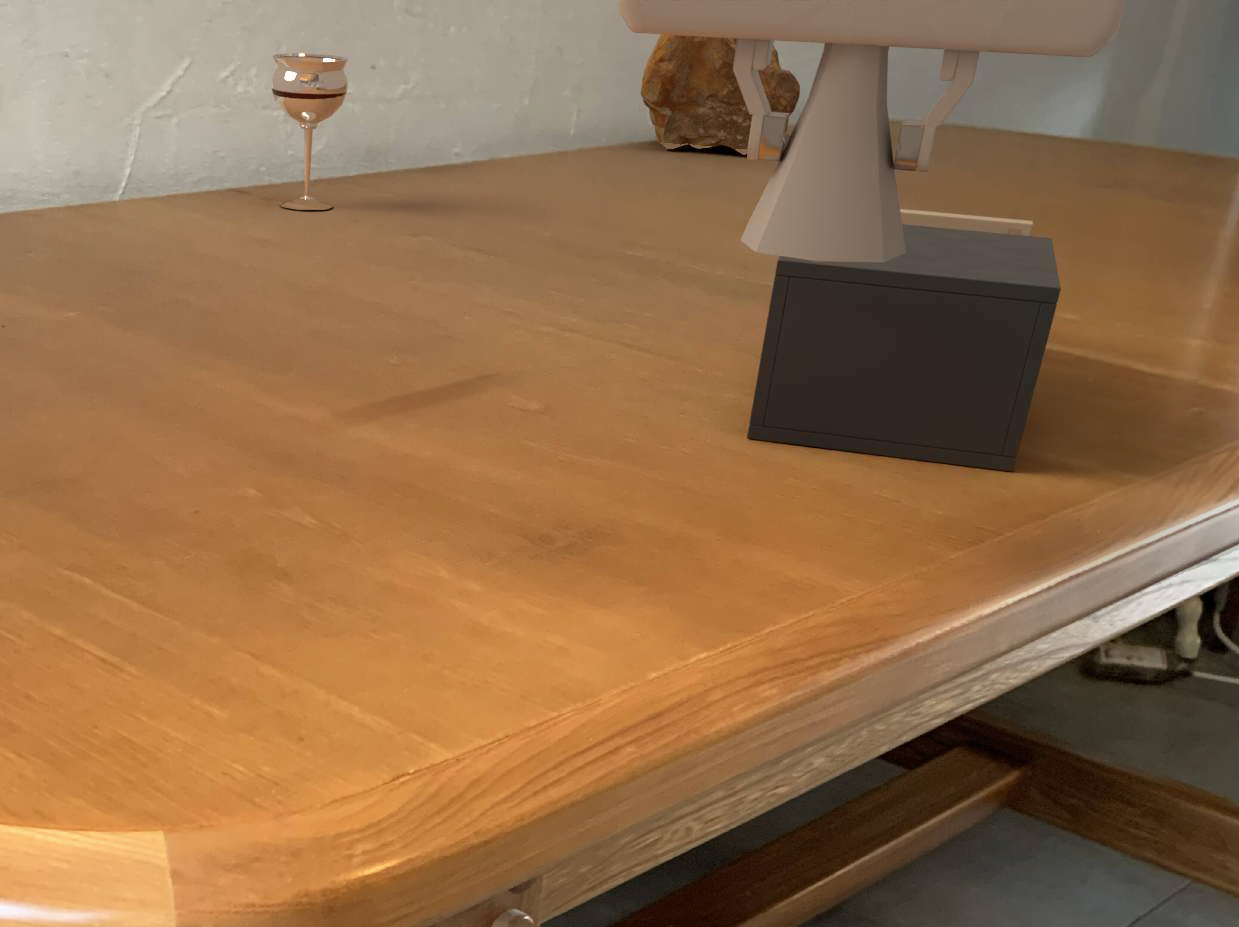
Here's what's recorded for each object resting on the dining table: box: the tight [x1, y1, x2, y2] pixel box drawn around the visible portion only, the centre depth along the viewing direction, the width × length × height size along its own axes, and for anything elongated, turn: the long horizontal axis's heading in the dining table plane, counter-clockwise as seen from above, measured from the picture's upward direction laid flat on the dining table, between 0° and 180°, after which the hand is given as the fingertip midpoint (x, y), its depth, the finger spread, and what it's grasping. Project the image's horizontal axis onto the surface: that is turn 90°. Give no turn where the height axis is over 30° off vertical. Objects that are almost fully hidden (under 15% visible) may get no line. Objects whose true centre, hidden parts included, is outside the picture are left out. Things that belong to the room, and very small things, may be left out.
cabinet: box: [746, 224, 1062, 473], centre depth 98 cm, size 16×15×10 cm
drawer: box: [900, 208, 1034, 236], centre depth 110 cm, size 19×13×8 cm
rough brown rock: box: [640, 34, 801, 150], centre depth 193 cm, size 23×17×15 cm
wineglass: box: [271, 52, 349, 200], centre depth 151 cm, size 7×7×12 cm
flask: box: [739, 43, 906, 263], centre depth 73 cm, size 7×7×10 cm
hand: (835, 163), depth 73 cm, fingers closed on flask, 5 cm apart
